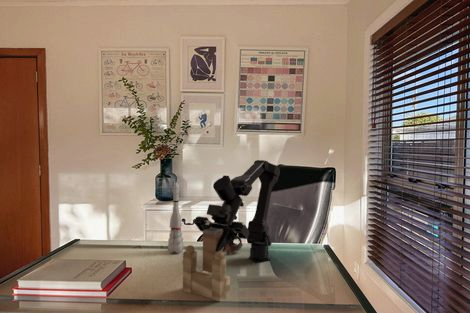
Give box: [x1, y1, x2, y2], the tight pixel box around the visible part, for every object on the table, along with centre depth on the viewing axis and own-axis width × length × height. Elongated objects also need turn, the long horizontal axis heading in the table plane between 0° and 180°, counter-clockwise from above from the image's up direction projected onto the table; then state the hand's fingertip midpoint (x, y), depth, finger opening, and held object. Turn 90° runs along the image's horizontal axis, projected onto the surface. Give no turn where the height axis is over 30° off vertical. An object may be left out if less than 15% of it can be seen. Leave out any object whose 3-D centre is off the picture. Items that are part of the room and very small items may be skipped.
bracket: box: [202, 228, 224, 274], centre depth 102 cm, size 5×5×13 cm
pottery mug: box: [223, 235, 244, 255], centre depth 141 cm, size 12×10×8 cm
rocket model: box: [167, 181, 185, 254], centre depth 139 cm, size 7×7×30 cm
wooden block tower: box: [182, 245, 231, 302], centre depth 101 cm, size 8×14×14 cm, turn 59°
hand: (210, 250), depth 101 cm, fingers closed on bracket, 4 cm apart
